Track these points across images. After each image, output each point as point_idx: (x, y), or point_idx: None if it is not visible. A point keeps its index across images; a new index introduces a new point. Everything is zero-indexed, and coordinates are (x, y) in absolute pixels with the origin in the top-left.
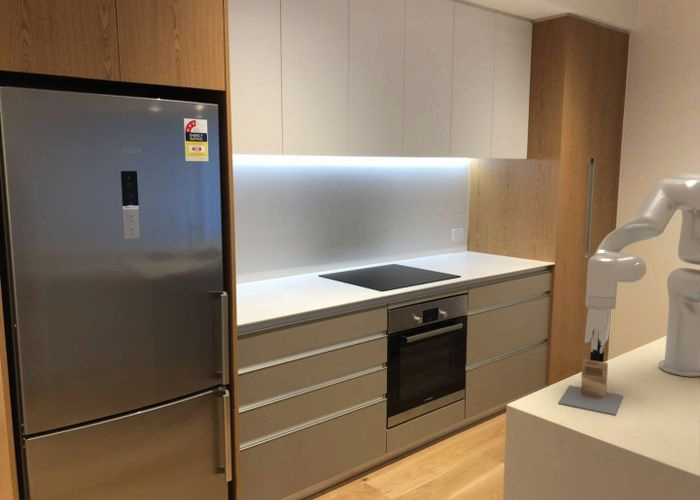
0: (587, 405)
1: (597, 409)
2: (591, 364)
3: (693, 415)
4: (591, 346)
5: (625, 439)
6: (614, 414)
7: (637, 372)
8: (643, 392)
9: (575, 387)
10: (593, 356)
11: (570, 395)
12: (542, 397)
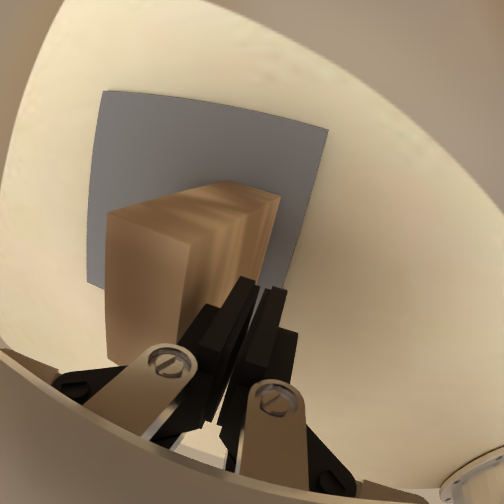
0: (109, 199)
1: (94, 231)
2: (111, 283)
3: (194, 447)
4: (102, 389)
5: (12, 270)
6: (88, 278)
7: (498, 407)
8: (331, 408)
9: (302, 158)
10: (182, 340)
11: (184, 130)
12: (160, 24)
